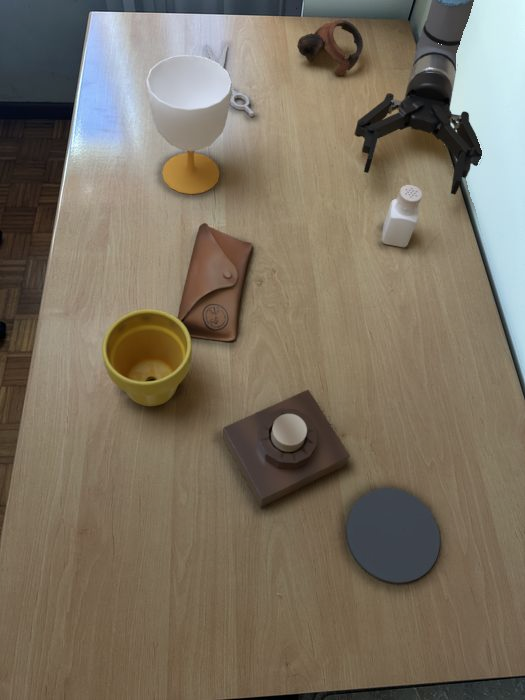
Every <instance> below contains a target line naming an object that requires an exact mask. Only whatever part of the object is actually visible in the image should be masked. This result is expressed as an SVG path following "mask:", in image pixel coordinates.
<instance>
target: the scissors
mask: <svg viewBox="0 0 525 700" xmlns="http://www.w3.org/2000/svg"><path fill="white" fill-rule="evenodd" d="M205 45H206V48H207V53H208V57H209V59H210V60H212V61H214V62H217V60H216V59H215V56H214V54H213V53H212V50H211V49H210V47H209V45H208V43H207V42H205ZM227 50H228V43H226V44H225V47H224V49H223V50H222V51H223V52H222V54H221V56H220V59H219V60H218V63H219V64H220V65H221V66H222V67H223V68H224V67H225V62H226V57H227V56H226V55H227ZM236 99H241V100H243V101H244V102H245V103H244V104H238V103H237V102H236V101H235V100H236ZM230 105H231V106H232V107H233V108H234V109H236V110H240V111H245V112H246V113H247V114H248V116H249V117H251V118H252V117H254V116H255V115H254V114H255V112H254V110H253V109H251V108H250V99H249V97H248V96H247V95H246V94H244V93H242V92H238V91H236V90H234V86H232V90H231V100H230Z"/></svg>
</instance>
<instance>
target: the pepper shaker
mask: <svg viewBox="0 0 525 700" xmlns="http://www.w3.org/2000/svg"><path fill="white" fill-rule="evenodd" d="M422 197H423V192H422V190H421V189H420V188H419V187H418V186H415V185H413V184H406V185H403V186H402V187H401V188H400V190H399V191H398V195H397V198H395V199H393V200H391V202H390V205H389V208H388V211H387V214H386V216H385V219H384V223H383V226H382V233H381V234H382V235H381V240H382V241H381V242H382V244H384V245H389V246H393V247H398V248H399V247H400V248H406V247H407V246H408V245H409V242H410V240H411V238H412V235H413V233H414V230H415V228H416V226H417V223H418V220H419V213H420V212H419V211H420V210H419V208H420V207H419V206H420V203H421V200H422Z"/></svg>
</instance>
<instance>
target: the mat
mask: <svg viewBox="0 0 525 700" xmlns="http://www.w3.org/2000/svg"><path fill="white" fill-rule="evenodd" d="M345 538H346V544H347V546H348V549H349V552H350V554H351V556H352V557H353V560H355V562H356V563H357V564H358V566H359V567H360V568H361V569H362V570H363V571H365V573H367V574H368V575H369V576H371V577H373V578H375V579H377V580H379V581H382V582H385V583H388V584H399V585H400V584H407V583H411V582H414V581H416V580H419V579H420V578H421V577H423V576H424V575H426V574H427V573H428V572H429V571H430V570H431V569H432V567H433V566H434V564H435V563H436V562H437V558H438V555H439V553H440V547H441V534H440V530H439V526H438V523H437V521H436V518H435V517H434V515H433V513H432V512H431V510H430V509H429V508H428V506H426V505H425V503H424V502H422V501H421V500H420V499H419V498H417V497H416V496H415V495H413V494H411V493H410V492H407V491H404V490H402V489H397V488H390V487H384V488H378V489H374V490H371V491H369V492H367V493H365V494H364V495H362V496H361V497H360V498H359V499H357V500H356V502H355V503H354V504H353V506H352V507H351V510H350V511H349V513H348V516H347V518H346V524H345Z"/></svg>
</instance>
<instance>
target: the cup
mask: <svg viewBox="0 0 525 700" xmlns="http://www.w3.org/2000/svg"><path fill="white" fill-rule="evenodd" d="M145 82H146V83H145V84H146V92H147V93H146V94H147V98H148V103H149V107H150V112H151V116H152V119H153V124H154V126H155V128H156V130H157V133H158V134H159V135H161V137H162V138H163V139H164V140H165V141H166V142H167V143H168V144H169V145H170V146H171V147H175V148H176V149H178V150H181V151H186V152H185V153H184V152H183V153H179V154H177V155H174V156H172V157H170V159H168V160H167V161H166V162H165V163H164V165H163V168H162V172H161V174H162V178H163V182H164V183H165V184H166V185H167V186H168V187H169V188H170V189H172V190H174V191H176V192H178V193H180V194H185V195H198V194H203V193H206V192H207V191H209V190H211V189H213V188H214V187H215V186H216V184H217V183H219V180H220V179H219V178H220V174H221V173H220V171H219V170H220V169H219V167H218V164H217V163H216V162H214V160H213V159H212V158H210V157H208V156H206V155H204V154H202V153H195V151H201V150H203V149H206V148H209V147H210V146H212V144H213V143H214V142H215V141H216V140H217V139H218V138H219V137H220V136H221V135H222V134H223V131H224V128H225V126H226V123H227V119H228V115H229V109H230V105H231V103H230V100H231V97H232V93H231V90H232V87H233V82H232V78H231V76H230V74H229V72H228V71H227V70H226V69H225V68H224V67H222V66H221V65H220V64H219V62H217V61H216V62H214V61H212V60H210V58H208V57H206V56H200V55H194V54H183V55H173V56H170V57H168V58H165V59H163V60H160V61H158V62H157V63H156V64H154V66H153V67H151V68H150V70H149V72H148V74H147V77H146V80H145Z"/></svg>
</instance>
